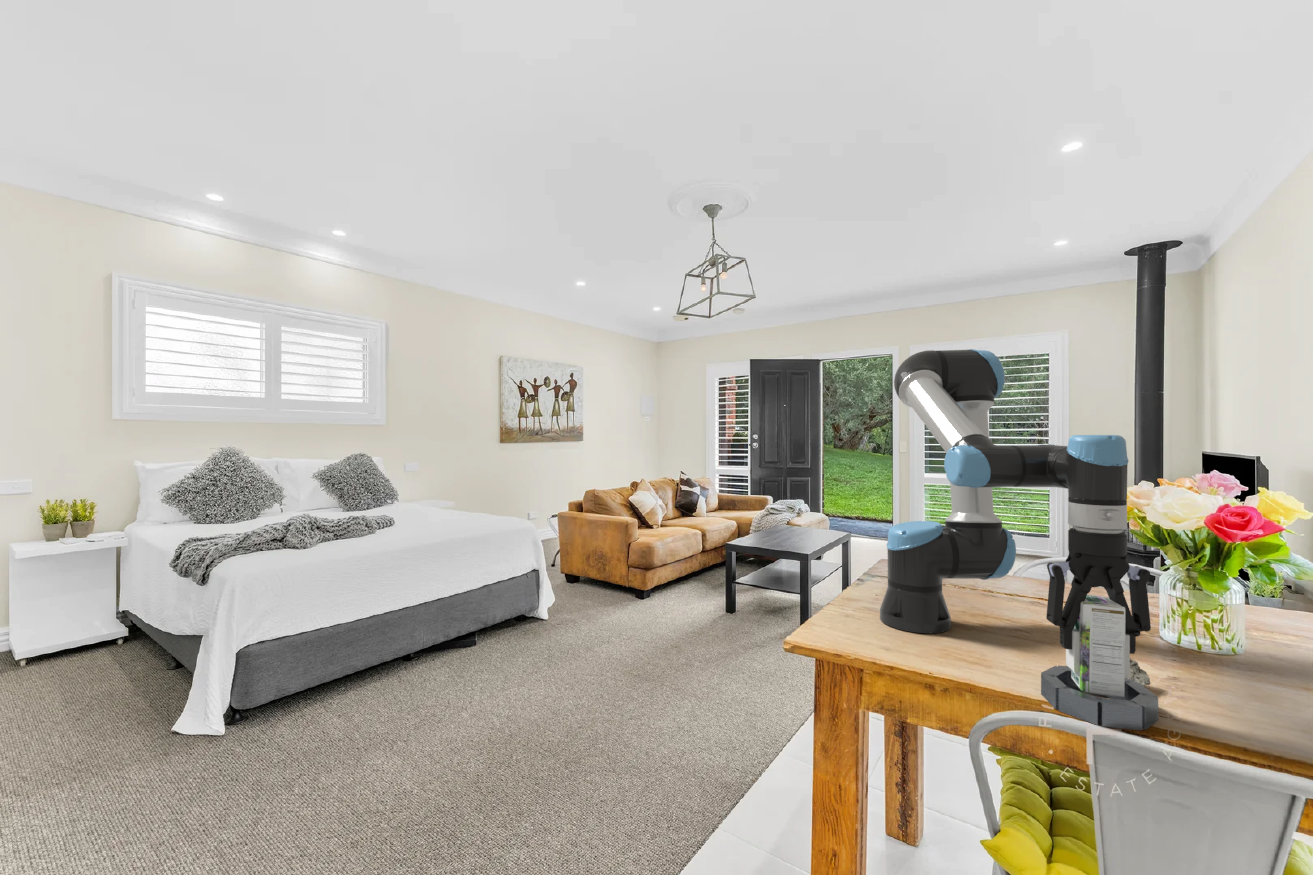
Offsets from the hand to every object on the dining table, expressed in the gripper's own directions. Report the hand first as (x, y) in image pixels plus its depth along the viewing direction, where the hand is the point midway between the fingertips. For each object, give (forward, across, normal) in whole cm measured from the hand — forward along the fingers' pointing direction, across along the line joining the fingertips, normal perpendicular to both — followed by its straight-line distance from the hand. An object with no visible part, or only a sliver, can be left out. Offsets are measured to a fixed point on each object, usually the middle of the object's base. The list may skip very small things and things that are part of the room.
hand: (1097, 669), depth 90 cm
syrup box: (+3, 0, 0) cm, 3 cm away
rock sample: (+6, +8, +9) cm, 13 cm away
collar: (+6, 0, 0) cm, 6 cm away
